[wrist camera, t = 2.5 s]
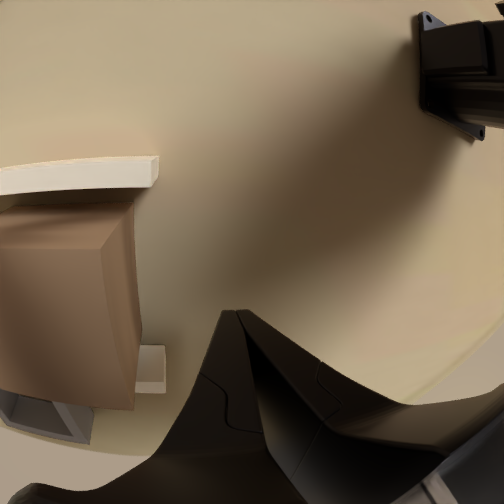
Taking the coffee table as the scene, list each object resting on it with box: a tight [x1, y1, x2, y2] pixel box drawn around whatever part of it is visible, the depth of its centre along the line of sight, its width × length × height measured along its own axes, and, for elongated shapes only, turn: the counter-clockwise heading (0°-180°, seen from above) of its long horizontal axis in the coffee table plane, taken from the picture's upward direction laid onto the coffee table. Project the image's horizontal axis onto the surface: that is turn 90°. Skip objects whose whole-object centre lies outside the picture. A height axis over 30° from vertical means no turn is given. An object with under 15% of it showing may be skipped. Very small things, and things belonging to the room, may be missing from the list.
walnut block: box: [0, 203, 142, 410], centre depth 8 cm, size 6×6×5 cm
